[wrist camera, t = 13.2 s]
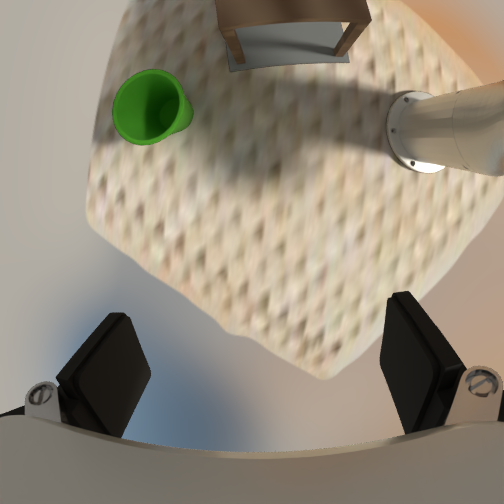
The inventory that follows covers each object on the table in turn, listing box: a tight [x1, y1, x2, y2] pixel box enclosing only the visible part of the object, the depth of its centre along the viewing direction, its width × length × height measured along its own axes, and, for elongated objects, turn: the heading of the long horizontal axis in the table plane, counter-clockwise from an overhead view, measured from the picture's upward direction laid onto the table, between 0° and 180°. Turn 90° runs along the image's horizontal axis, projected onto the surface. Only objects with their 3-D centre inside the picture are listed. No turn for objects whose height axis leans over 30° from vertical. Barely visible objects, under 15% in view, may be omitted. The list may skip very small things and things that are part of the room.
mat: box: [226, 22, 349, 72], centre depth 31 cm, size 17×17×1 cm
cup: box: [112, 69, 193, 145], centre depth 33 cm, size 9×9×11 cm
